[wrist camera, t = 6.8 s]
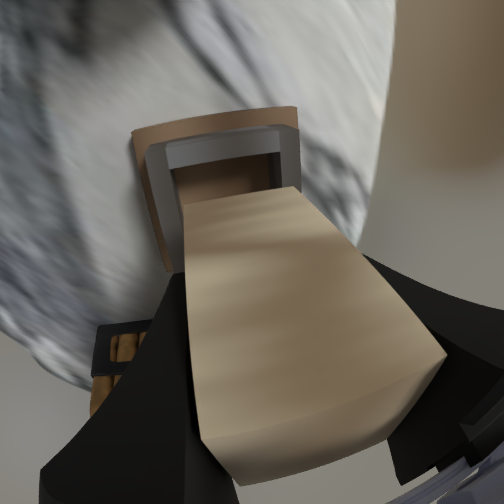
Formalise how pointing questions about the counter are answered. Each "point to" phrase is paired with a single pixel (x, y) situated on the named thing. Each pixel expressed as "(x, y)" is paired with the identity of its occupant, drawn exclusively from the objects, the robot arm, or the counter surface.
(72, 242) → the counter surface
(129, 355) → the ammunition clip
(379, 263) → the robot arm
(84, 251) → the counter surface
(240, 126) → the socket
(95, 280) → the counter surface
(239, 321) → the square peg
